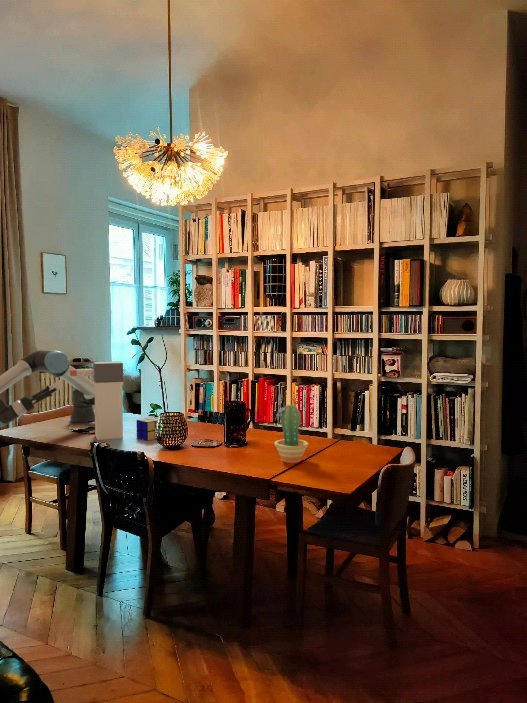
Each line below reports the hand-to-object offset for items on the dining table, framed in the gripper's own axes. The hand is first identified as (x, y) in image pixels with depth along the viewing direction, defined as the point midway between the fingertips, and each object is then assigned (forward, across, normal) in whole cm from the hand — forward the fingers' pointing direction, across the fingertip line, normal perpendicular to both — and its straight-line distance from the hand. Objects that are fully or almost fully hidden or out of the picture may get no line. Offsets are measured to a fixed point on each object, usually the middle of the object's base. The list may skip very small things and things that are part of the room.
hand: (61, 383), depth 279 cm
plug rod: (+16, 0, -5) cm, 17 cm away
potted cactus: (+67, +78, -73) cm, 126 cm away
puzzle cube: (+22, +11, -48) cm, 54 cm away
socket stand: (+5, 0, -37) cm, 38 cm away
